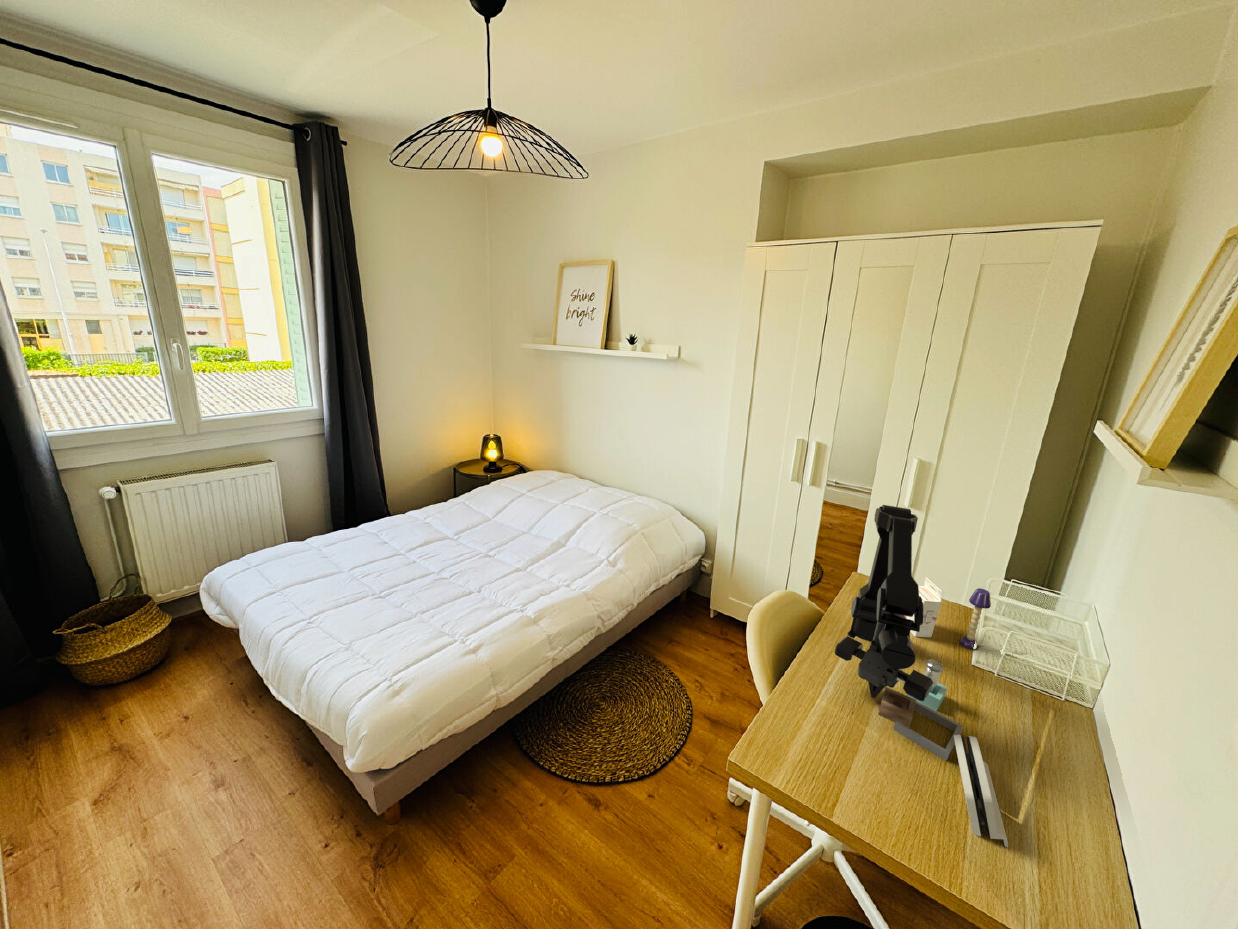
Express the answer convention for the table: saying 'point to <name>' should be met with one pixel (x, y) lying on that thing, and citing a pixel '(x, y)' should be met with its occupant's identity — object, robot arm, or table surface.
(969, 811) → the grey slotted housing
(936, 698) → the teal block
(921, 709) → the grey u-shaped bracket
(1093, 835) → the table surface
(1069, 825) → the table surface
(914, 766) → the table surface
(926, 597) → the ink cartridge box
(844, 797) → the table surface
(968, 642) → the toy lamp
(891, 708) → the walnut block
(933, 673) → the metal cylinder peg
